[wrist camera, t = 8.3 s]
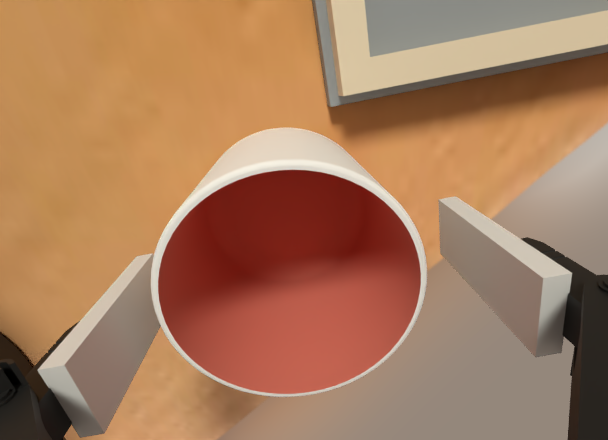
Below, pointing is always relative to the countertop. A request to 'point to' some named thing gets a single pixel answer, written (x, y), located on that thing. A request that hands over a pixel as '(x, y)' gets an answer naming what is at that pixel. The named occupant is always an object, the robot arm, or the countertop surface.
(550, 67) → the countertop surface
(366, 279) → the cup
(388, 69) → the tray
